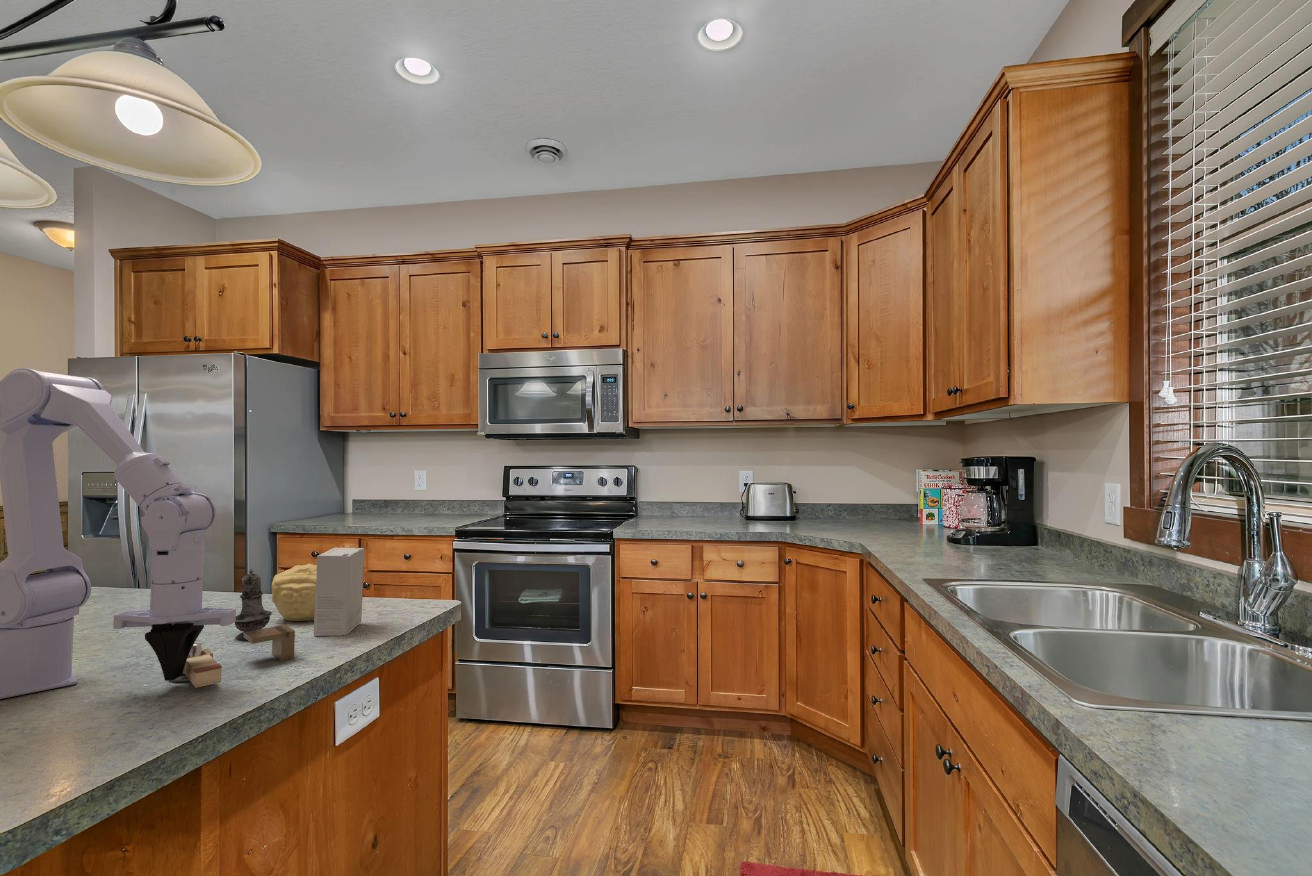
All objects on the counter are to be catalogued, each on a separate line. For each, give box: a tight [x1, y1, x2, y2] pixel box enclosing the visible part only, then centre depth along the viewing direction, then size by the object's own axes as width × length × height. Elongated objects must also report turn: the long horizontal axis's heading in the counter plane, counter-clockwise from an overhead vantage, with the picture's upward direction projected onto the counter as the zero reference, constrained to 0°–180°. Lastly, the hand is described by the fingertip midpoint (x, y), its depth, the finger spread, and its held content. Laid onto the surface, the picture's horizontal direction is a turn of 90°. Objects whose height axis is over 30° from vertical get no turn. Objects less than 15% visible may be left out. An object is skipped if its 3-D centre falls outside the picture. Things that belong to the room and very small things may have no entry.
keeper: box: [244, 624, 296, 662], centre depth 94 cm, size 6×5×4 cm
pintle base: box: [168, 642, 203, 684], centre depth 87 cm, size 6×6×4 cm
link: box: [183, 648, 223, 689], centre depth 84 cm, size 11×4×2 cm, turn 48°
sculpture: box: [271, 563, 317, 622], centre depth 118 cm, size 12×12×11 cm
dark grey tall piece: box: [234, 568, 273, 642], centre depth 105 cm, size 6×6×12 cm
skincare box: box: [313, 547, 365, 637], centre depth 110 cm, size 8×6×15 cm
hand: (173, 678), depth 82 cm, fingers closed
